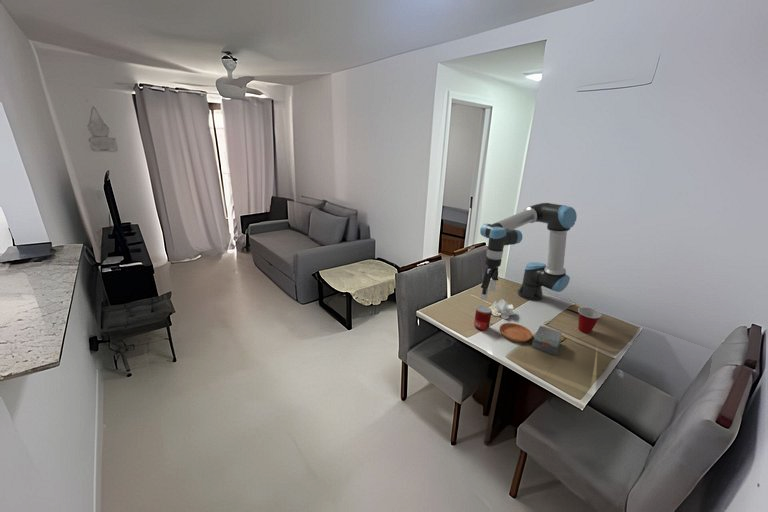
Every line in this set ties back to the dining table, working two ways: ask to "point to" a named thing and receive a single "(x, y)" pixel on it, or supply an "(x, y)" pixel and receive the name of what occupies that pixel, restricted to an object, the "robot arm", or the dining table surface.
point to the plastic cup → (587, 319)
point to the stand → (547, 340)
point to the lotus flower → (502, 309)
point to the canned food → (482, 317)
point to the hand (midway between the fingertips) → (487, 295)
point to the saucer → (515, 332)
